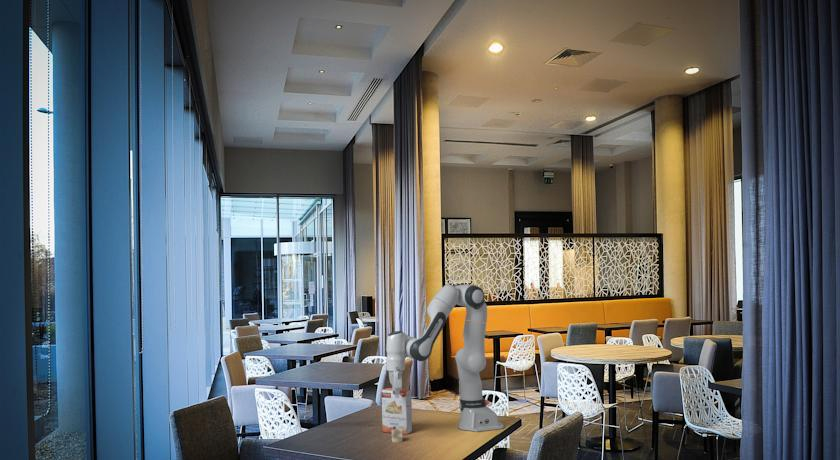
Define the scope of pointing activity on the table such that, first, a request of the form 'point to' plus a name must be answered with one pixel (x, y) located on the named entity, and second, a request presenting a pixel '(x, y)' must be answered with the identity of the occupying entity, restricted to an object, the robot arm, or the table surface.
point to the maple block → (396, 435)
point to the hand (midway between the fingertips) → (395, 396)
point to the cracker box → (396, 411)
